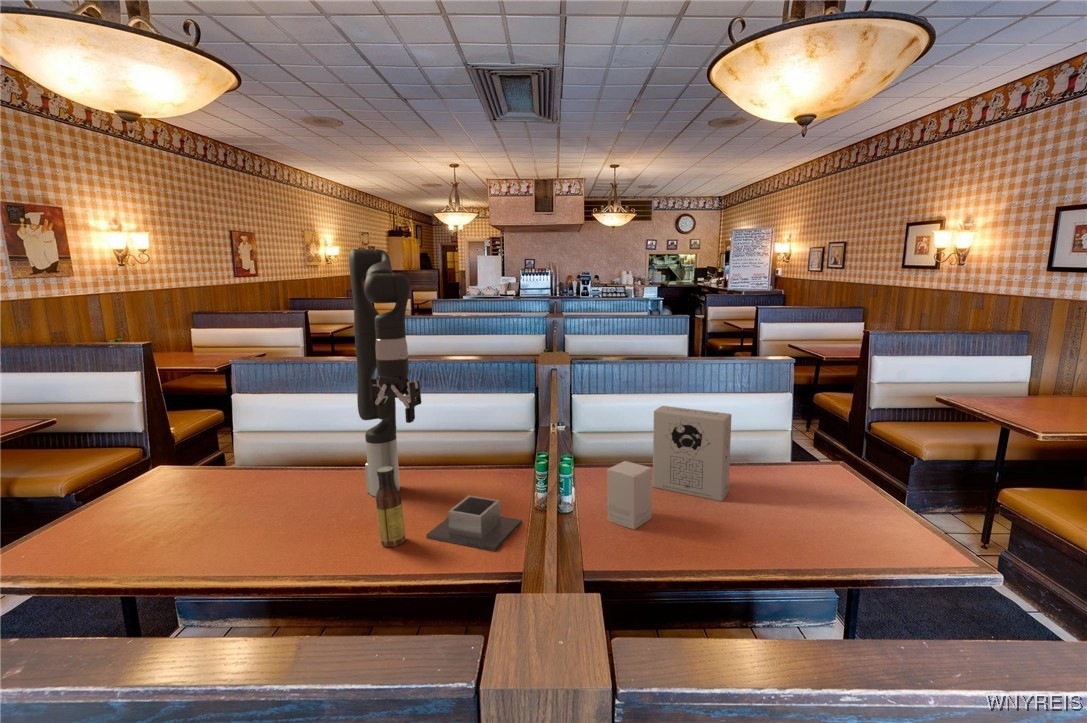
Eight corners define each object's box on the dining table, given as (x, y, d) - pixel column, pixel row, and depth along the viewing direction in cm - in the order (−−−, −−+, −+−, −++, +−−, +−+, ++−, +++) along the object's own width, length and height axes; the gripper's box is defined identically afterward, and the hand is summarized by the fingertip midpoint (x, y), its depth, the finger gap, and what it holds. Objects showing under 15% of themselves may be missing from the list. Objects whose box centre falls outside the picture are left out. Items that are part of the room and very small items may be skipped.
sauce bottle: (409, 536, 140) (404, 464, 136) (400, 549, 133) (395, 473, 130) (384, 536, 140) (379, 464, 137) (375, 548, 134) (369, 473, 131)
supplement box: (652, 519, 147) (653, 467, 144) (634, 530, 140) (634, 476, 138) (624, 509, 153) (625, 459, 151) (606, 520, 147) (606, 468, 144)
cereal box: (728, 492, 163) (731, 413, 159) (722, 502, 157) (725, 419, 153) (660, 479, 175) (661, 405, 170) (652, 487, 168) (653, 410, 164)
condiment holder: (426, 537, 139) (425, 512, 138) (458, 512, 153) (457, 489, 152) (495, 551, 131) (494, 525, 130) (522, 523, 146) (521, 499, 145)
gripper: (358, 357, 130) (363, 421, 132) (405, 360, 124) (409, 427, 127) (380, 352, 137) (384, 414, 139) (425, 355, 131) (428, 419, 133)
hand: (396, 420), depth 133 cm, fingers open, 8 cm apart
